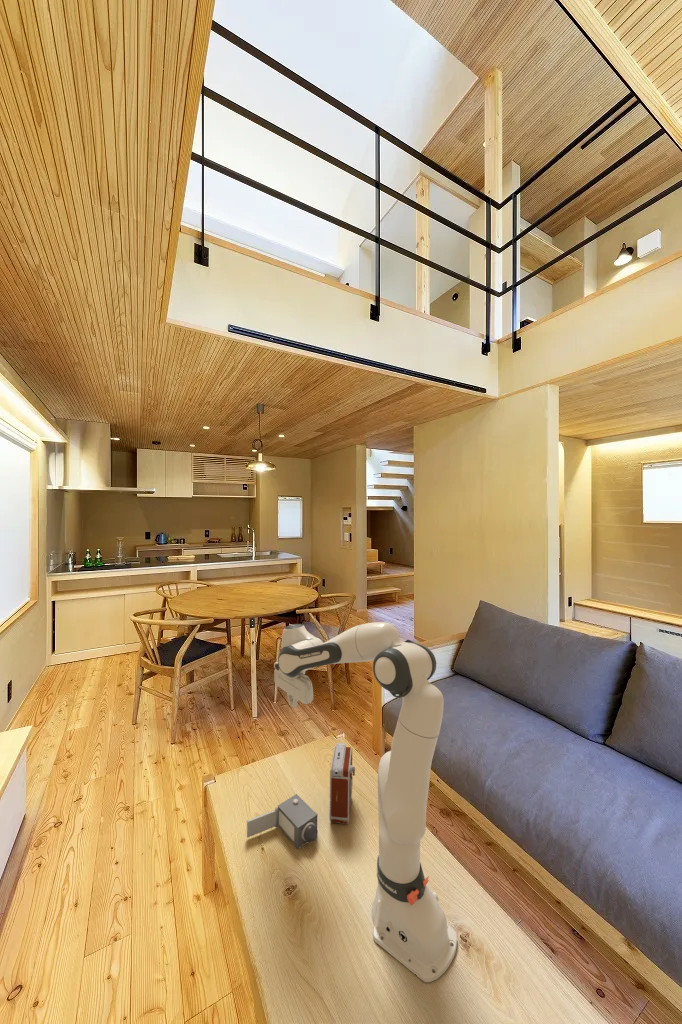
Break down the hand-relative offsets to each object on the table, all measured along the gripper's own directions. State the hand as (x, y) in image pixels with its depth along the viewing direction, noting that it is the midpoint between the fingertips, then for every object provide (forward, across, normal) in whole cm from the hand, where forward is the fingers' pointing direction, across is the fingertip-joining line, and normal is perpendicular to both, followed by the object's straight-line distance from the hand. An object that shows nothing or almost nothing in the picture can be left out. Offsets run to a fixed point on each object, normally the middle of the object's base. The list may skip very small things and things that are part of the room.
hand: (293, 705), depth 138 cm
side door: (+36, -3, +14) cm, 39 cm away
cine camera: (+37, -12, -14) cm, 42 cm away
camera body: (+37, -11, +5) cm, 39 cm away
